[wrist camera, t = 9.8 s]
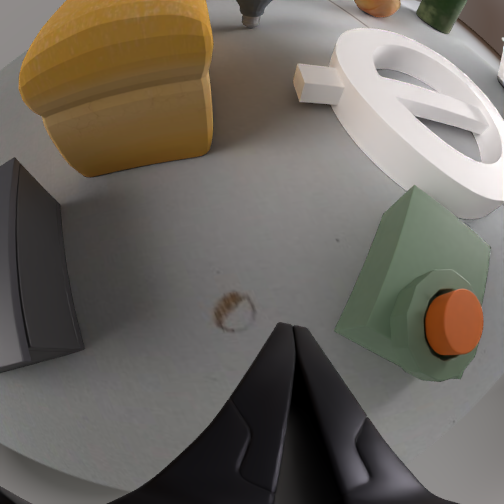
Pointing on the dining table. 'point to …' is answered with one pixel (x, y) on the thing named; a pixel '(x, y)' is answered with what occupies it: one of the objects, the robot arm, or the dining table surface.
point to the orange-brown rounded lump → (379, 7)
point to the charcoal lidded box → (43, 274)
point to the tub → (501, 69)
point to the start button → (454, 323)
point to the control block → (414, 284)
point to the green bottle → (440, 13)
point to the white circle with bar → (412, 117)
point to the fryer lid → (10, 274)
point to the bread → (123, 82)
